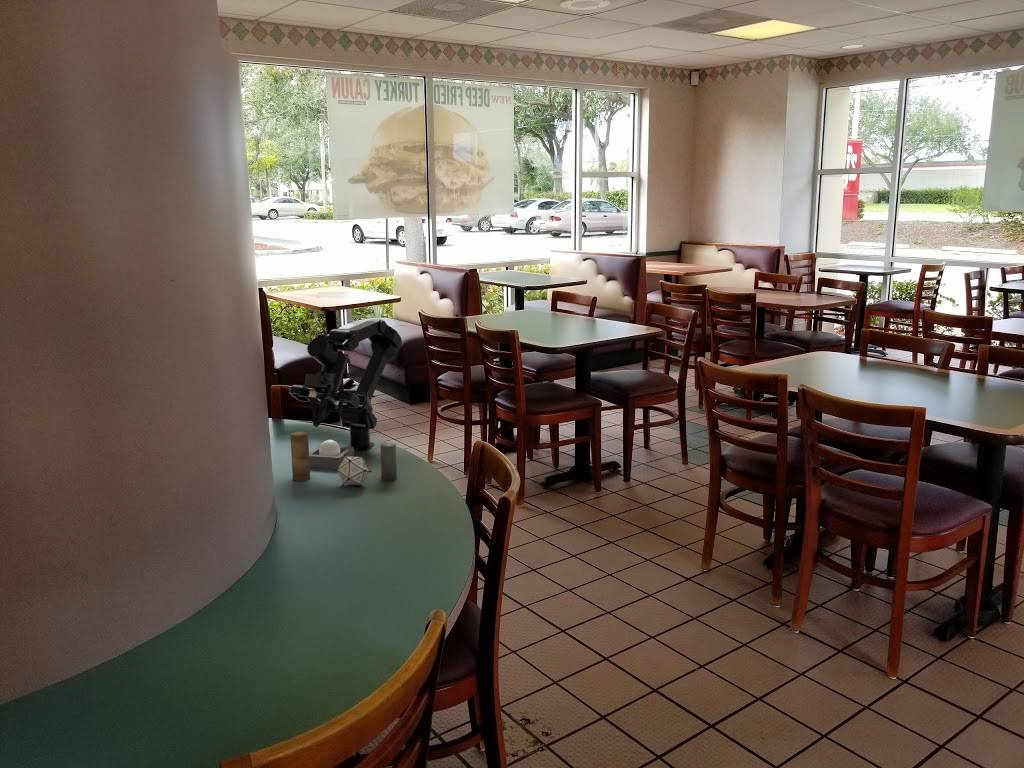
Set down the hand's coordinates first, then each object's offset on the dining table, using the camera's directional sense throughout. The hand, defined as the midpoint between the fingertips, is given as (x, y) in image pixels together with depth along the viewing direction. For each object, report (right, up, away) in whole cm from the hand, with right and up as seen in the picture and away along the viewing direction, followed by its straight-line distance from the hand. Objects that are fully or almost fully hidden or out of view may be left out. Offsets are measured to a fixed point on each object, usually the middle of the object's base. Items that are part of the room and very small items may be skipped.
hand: (315, 426), depth 219 cm
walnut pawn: (-3, -13, -4) cm, 14 cm away
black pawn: (+20, -13, -3) cm, 24 cm away
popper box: (+2, -10, +9) cm, 14 cm away
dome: (+2, -10, +9) cm, 13 cm away
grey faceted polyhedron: (+12, -15, -9) cm, 21 cm away
